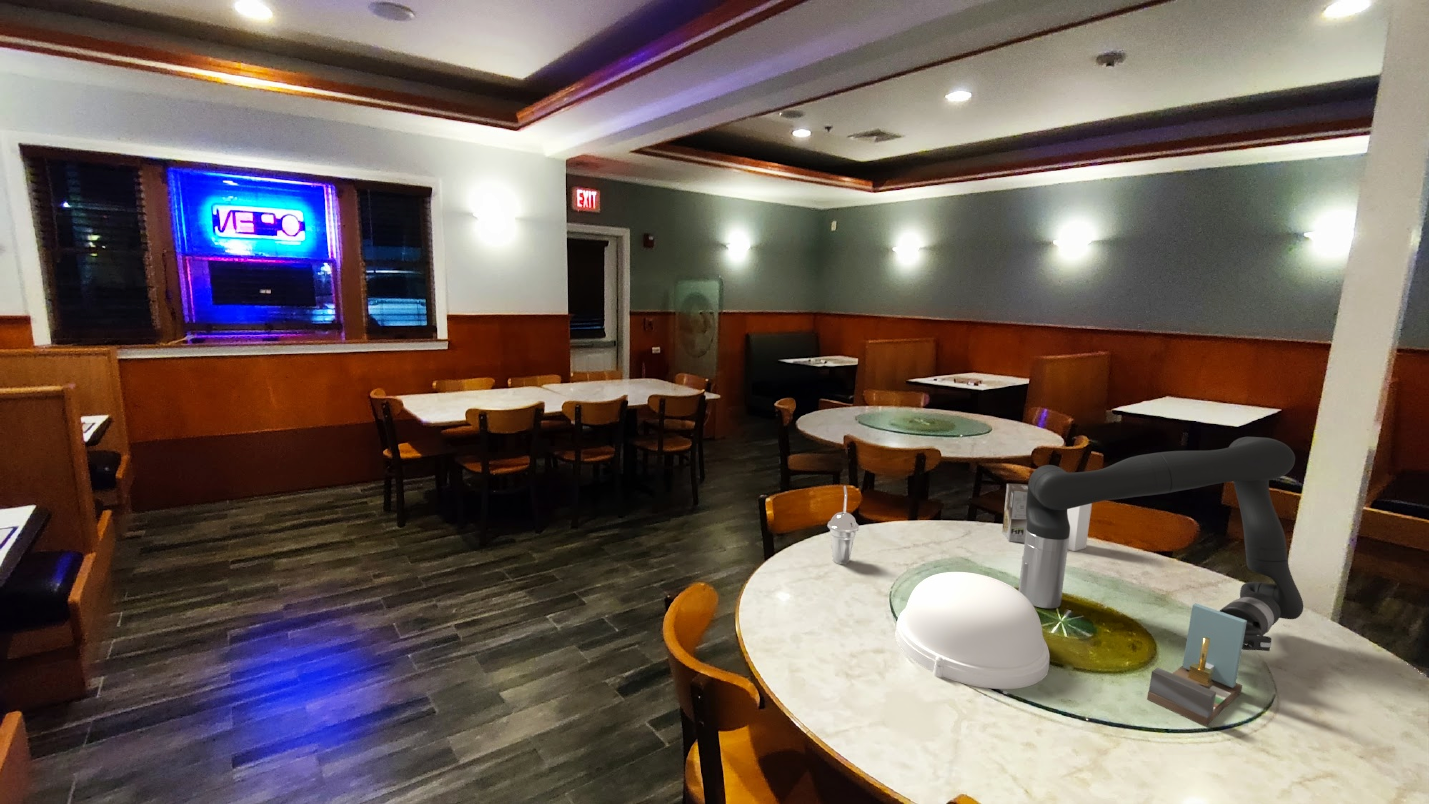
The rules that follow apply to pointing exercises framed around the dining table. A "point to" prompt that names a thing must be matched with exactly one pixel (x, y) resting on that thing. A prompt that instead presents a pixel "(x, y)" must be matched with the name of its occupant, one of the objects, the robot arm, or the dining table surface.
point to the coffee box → (1015, 512)
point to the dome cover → (973, 631)
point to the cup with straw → (842, 534)
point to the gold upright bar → (1201, 666)
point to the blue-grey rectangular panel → (1215, 642)
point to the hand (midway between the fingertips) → (1215, 643)
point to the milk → (1078, 526)
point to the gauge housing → (1190, 695)
